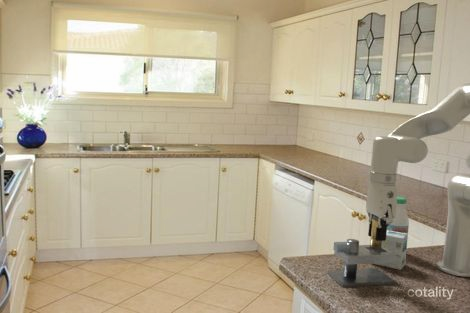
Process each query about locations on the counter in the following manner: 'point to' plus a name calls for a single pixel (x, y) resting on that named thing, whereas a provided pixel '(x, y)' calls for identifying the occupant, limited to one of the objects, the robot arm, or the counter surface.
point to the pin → (373, 243)
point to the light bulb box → (395, 248)
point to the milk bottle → (400, 218)
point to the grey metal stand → (361, 255)
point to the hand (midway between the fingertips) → (376, 237)
